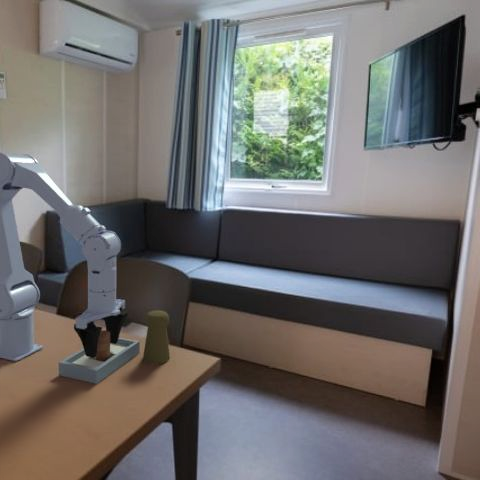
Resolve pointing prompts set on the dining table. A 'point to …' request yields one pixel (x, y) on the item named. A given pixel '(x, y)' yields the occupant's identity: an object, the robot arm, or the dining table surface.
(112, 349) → the box
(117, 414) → the dining table surface
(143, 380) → the dining table surface
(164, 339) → the cork
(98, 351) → the peg
